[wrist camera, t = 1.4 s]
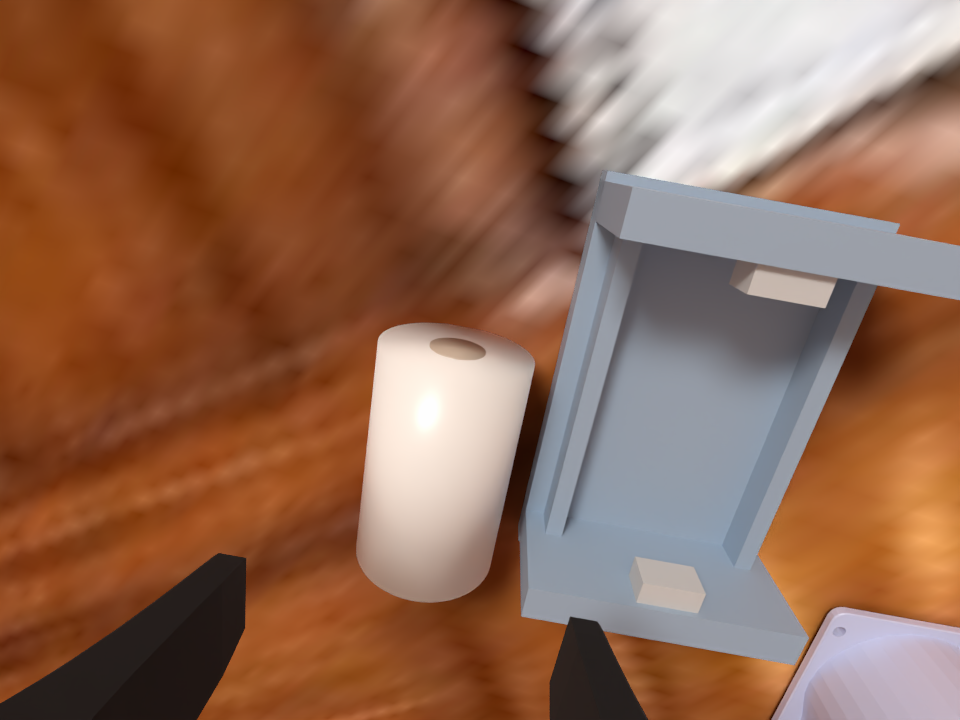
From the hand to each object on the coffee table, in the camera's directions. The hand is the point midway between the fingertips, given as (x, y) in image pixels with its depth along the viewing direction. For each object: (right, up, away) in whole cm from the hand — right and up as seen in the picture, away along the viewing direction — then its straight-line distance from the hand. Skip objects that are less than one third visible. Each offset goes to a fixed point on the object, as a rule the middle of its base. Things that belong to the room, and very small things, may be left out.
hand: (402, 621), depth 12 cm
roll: (+1, +3, +9) cm, 10 cm away
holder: (+9, +5, +8) cm, 13 cm away
